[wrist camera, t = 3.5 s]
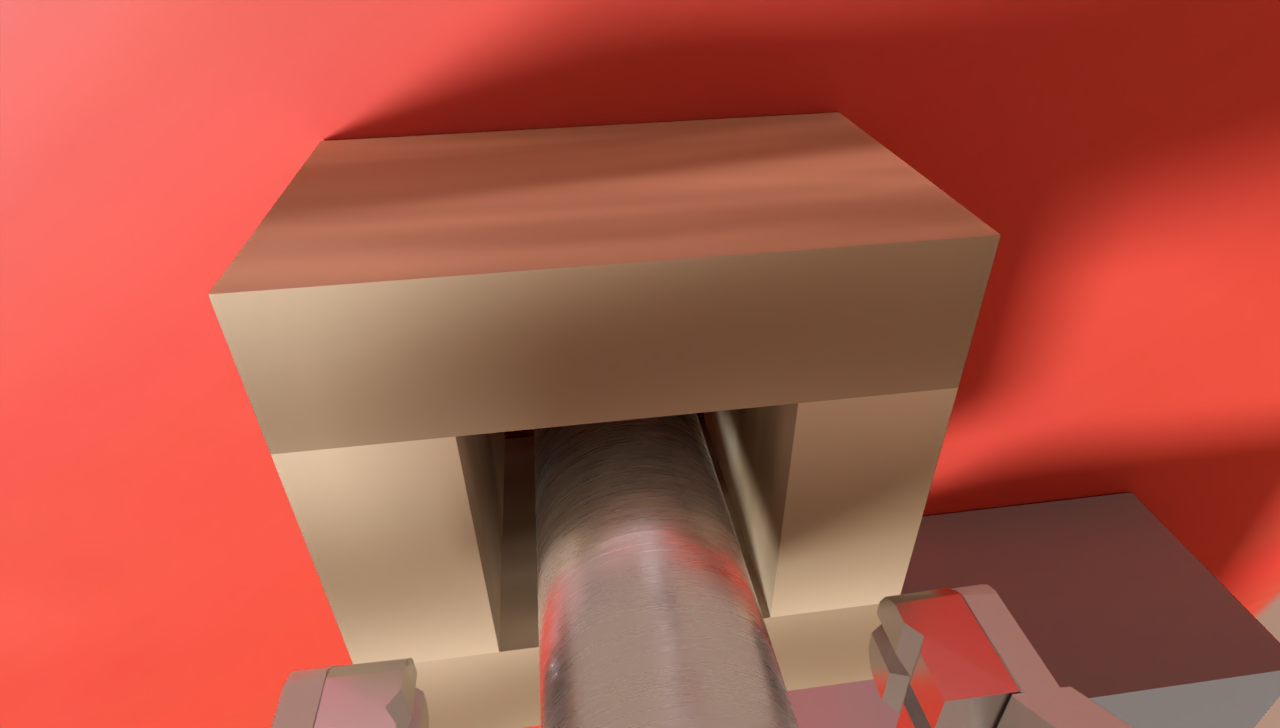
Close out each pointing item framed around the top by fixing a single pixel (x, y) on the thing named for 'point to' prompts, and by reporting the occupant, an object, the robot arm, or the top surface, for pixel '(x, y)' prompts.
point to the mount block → (602, 368)
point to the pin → (645, 585)
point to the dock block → (1092, 615)
